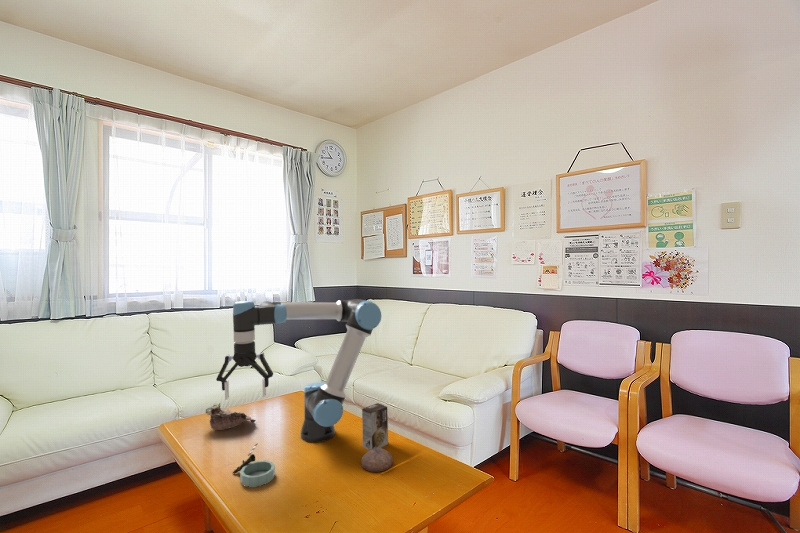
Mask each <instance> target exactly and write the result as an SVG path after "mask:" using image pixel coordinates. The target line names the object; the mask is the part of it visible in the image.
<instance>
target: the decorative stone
mask: <svg viewBox="0 0 800 533" xmlns="http://www.w3.org/2000/svg"><path fill="white" fill-rule="evenodd" d="M393 460H394V459H393V456H392V454H391V453H390V452H389V451H388V450H387V449H384V448H383V447H381V448H374V449H371V450H367V451H366V452H365V454H363V455H362V457H361V460H360V462H361V467H362V468H363V469H364V470H366V471H368V472H373V473H375V472H384V471H386V470H388V469H389V468H391V467H392V466H393V462H394V461H393Z"/></svg>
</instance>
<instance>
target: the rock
mask: <svg viewBox="0 0 800 533" xmlns="http://www.w3.org/2000/svg"><path fill="white" fill-rule="evenodd" d="M205 414H207V416H210V419H209V425H210V427H211V429H212V430H213V431H218V430H219V431H222V430H226V429H227V430H228V429H231V428H235V427H237V426H240V425H241V424H242V423H243V422H245V421H250V422H251V423H255V422H256V421H257V420H256V419H253V418H252V417H251V416H249V415H247V414H245V413H244V412H236V411H234V412H233V411H231V410H229V409H227V408H221V402H220V403H213V406H211V407H207V408H206V409H205Z"/></svg>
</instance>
